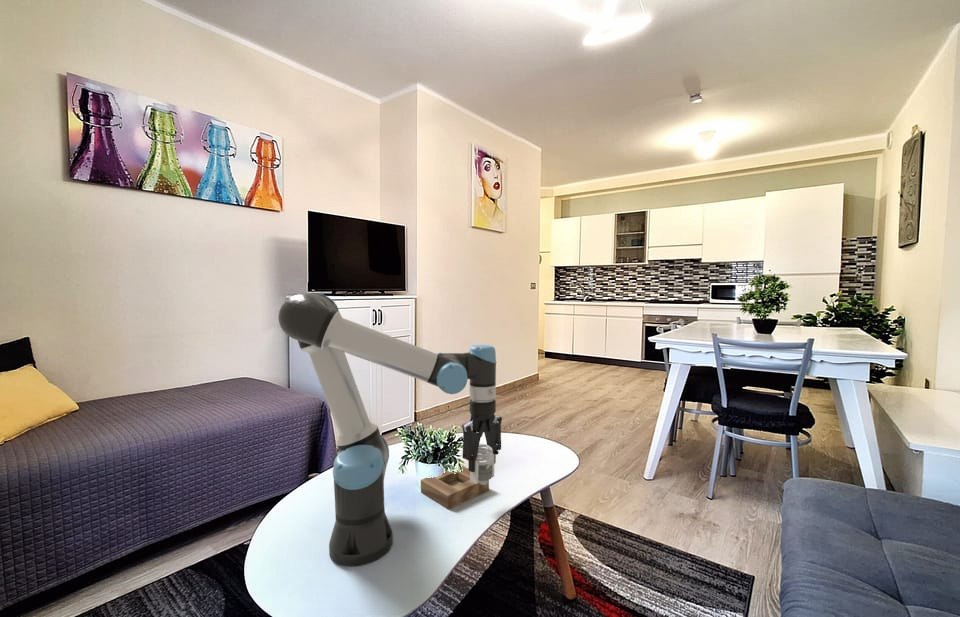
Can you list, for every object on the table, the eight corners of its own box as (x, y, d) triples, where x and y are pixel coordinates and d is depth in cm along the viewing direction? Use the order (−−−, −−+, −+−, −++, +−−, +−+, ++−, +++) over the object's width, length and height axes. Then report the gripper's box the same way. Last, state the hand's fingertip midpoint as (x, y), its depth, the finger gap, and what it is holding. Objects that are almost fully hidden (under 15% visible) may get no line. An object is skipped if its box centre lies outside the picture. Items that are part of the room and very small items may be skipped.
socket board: (448, 509, 119) (447, 495, 119) (420, 492, 130) (420, 479, 130) (489, 490, 130) (488, 478, 130) (460, 476, 140) (460, 464, 140)
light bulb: (469, 485, 120) (469, 444, 120) (482, 478, 124) (482, 439, 124) (484, 491, 116) (483, 449, 116) (497, 484, 120) (496, 444, 120)
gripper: (466, 407, 111) (465, 493, 111) (514, 396, 123) (513, 473, 124) (448, 402, 116) (448, 483, 117) (496, 391, 128) (496, 465, 129)
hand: (482, 478), depth 120 cm, fingers closed on light bulb, 6 cm apart
